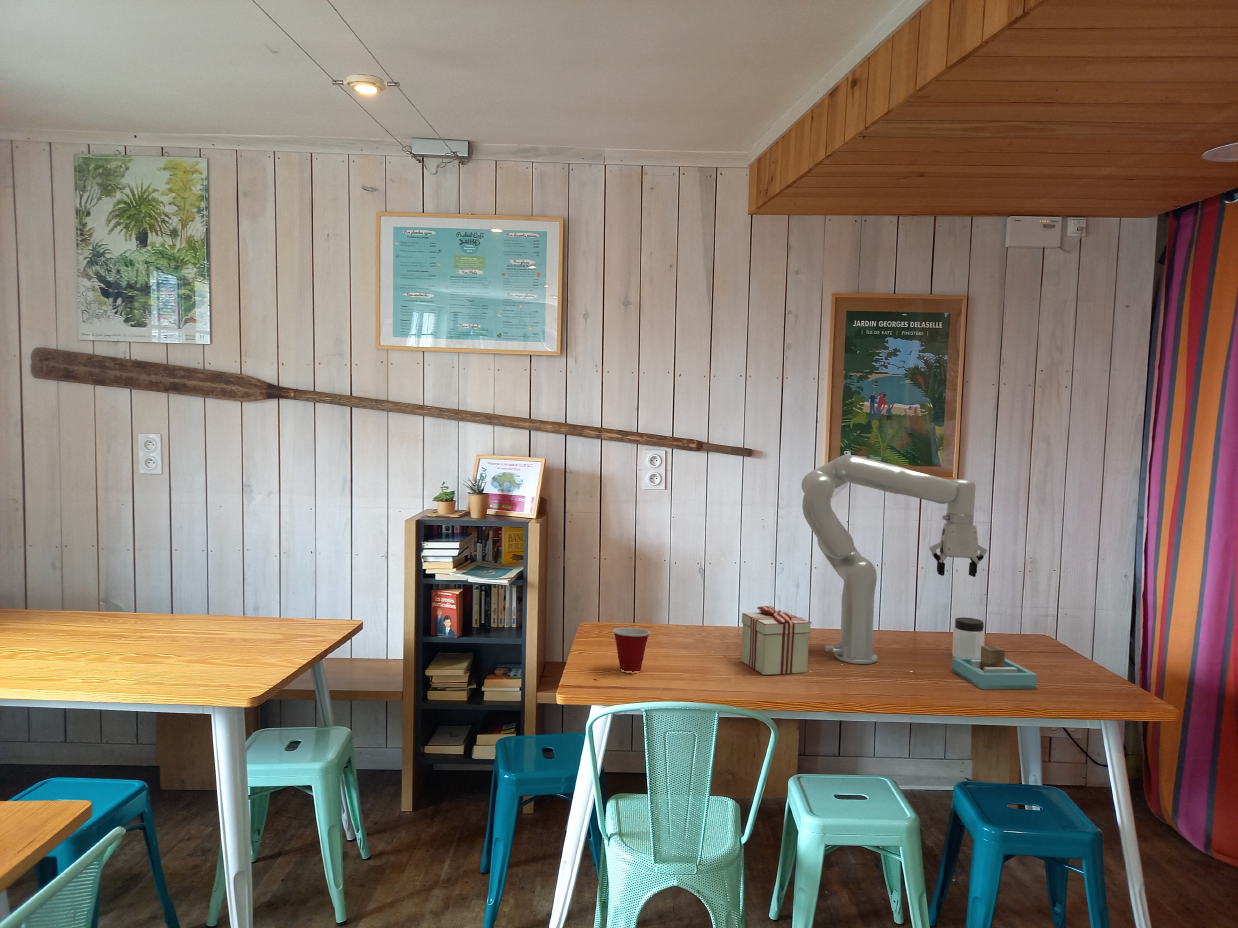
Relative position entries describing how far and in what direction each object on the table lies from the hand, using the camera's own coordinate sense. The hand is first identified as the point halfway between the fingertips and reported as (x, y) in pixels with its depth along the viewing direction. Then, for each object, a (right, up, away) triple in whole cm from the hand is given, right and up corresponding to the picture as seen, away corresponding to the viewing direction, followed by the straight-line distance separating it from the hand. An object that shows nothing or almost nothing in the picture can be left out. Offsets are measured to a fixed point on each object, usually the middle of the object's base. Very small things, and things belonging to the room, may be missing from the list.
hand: (956, 575), depth 240 cm
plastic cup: (-100, -26, -14) cm, 104 cm away
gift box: (-56, -26, -6) cm, 63 cm away
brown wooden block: (+3, -27, -15) cm, 31 cm away
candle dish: (+4, -28, -16) cm, 32 cm away
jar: (+6, -27, +5) cm, 28 cm away
